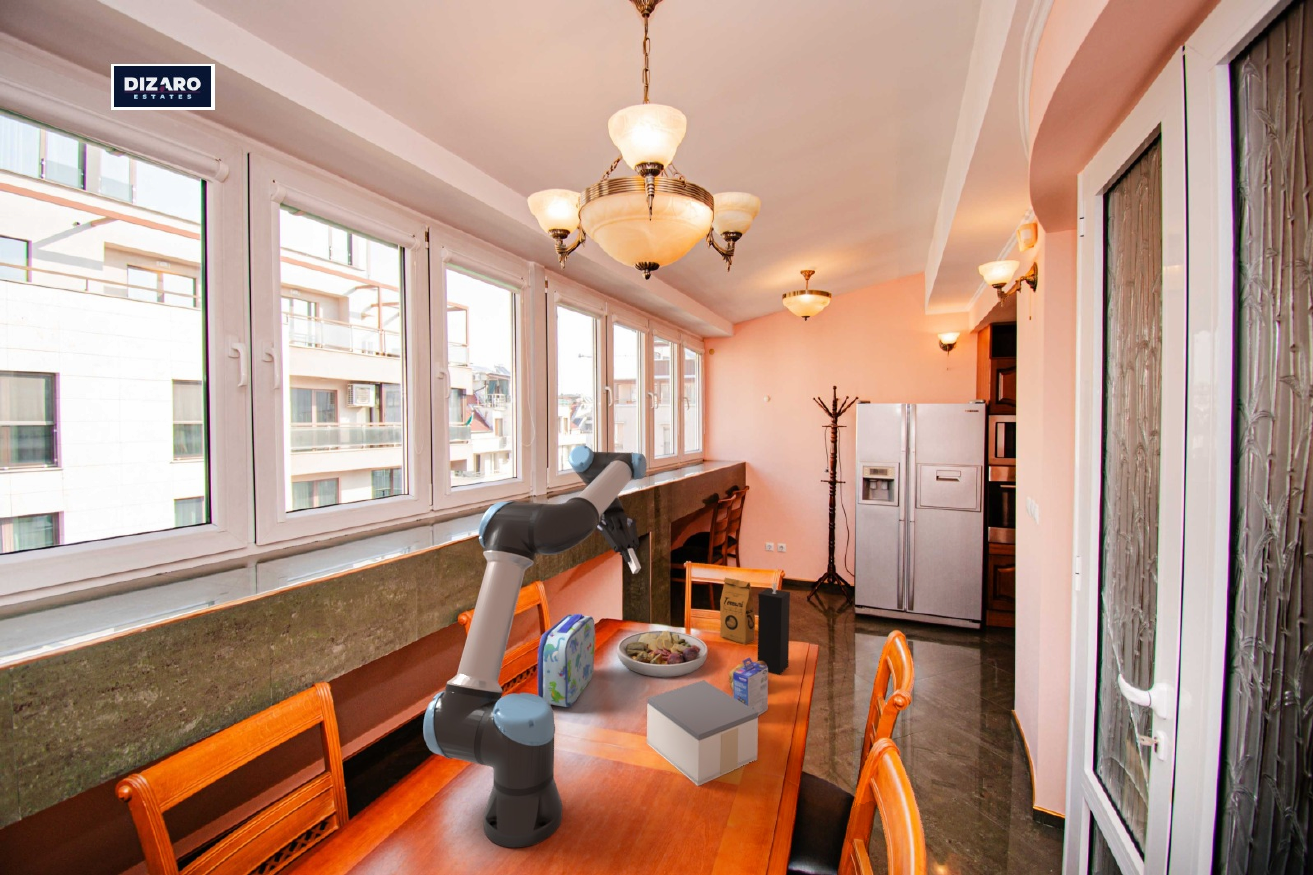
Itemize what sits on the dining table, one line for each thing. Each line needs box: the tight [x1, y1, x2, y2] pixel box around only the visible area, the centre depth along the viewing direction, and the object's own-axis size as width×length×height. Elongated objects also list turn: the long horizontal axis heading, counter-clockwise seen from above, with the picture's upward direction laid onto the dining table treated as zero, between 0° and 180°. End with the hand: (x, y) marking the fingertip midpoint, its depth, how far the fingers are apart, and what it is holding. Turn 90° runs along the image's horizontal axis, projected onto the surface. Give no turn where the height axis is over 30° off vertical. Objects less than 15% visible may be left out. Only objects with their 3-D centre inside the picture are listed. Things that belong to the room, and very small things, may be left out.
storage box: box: [646, 703, 759, 787], centre depth 138 cm, size 20×18×10 cm
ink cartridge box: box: [732, 657, 769, 717], centre depth 157 cm, size 10×6×14 cm, turn 137°
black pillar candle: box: [757, 582, 791, 676], centre depth 186 cm, size 8×8×28 cm
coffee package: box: [719, 577, 756, 646], centre depth 211 cm, size 10×12×22 cm
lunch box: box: [537, 613, 596, 708], centre depth 168 cm, size 26×11×21 cm, turn 168°
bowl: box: [616, 630, 708, 678], centre depth 192 cm, size 30×30×8 cm
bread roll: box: [728, 660, 767, 692], centre depth 172 cm, size 13×10×8 cm
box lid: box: [646, 679, 759, 740], centre depth 138 cm, size 20×18×1 cm
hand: (637, 570), depth 160 cm, fingers closed
